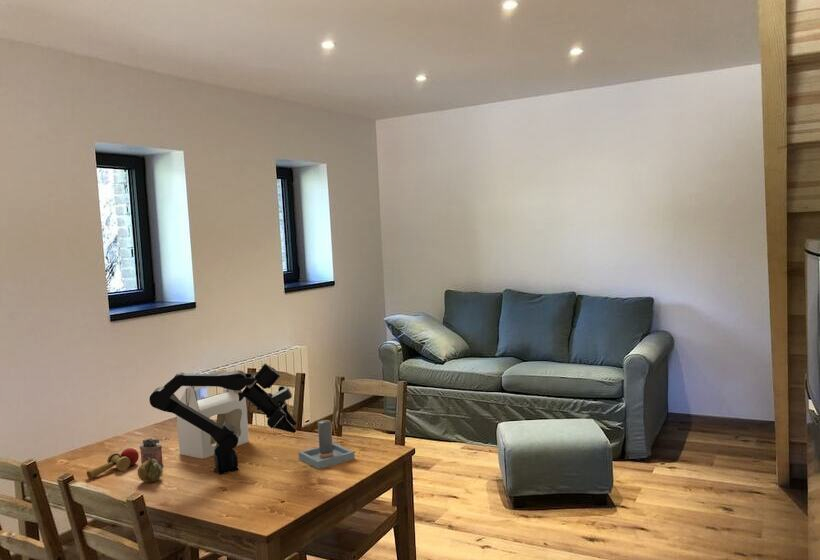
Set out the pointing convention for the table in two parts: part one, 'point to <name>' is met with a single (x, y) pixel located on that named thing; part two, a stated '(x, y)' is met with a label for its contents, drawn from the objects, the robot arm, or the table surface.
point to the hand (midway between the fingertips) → (295, 428)
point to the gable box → (222, 404)
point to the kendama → (116, 462)
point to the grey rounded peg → (325, 439)
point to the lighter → (151, 451)
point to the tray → (314, 458)
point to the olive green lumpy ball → (150, 471)
